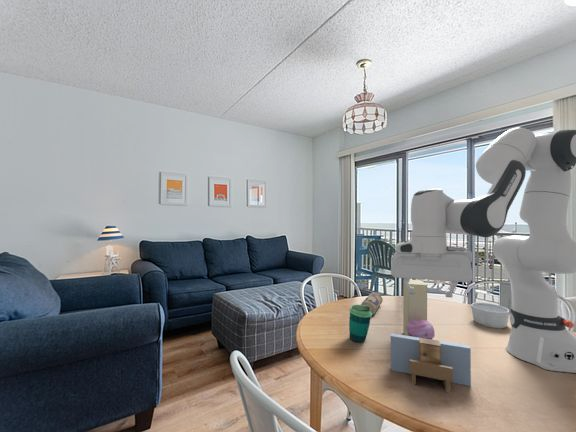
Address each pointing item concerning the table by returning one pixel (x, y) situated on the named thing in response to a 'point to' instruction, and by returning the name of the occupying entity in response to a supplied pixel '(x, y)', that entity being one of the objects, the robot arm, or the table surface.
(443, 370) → the wall board
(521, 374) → the table surface
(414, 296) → the toy refrigerator
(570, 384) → the table surface
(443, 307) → the table surface
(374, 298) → the decorative bottle
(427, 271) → the robot arm
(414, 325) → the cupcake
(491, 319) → the ramekin
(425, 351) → the tan wooden cube
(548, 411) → the table surface
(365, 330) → the cup
